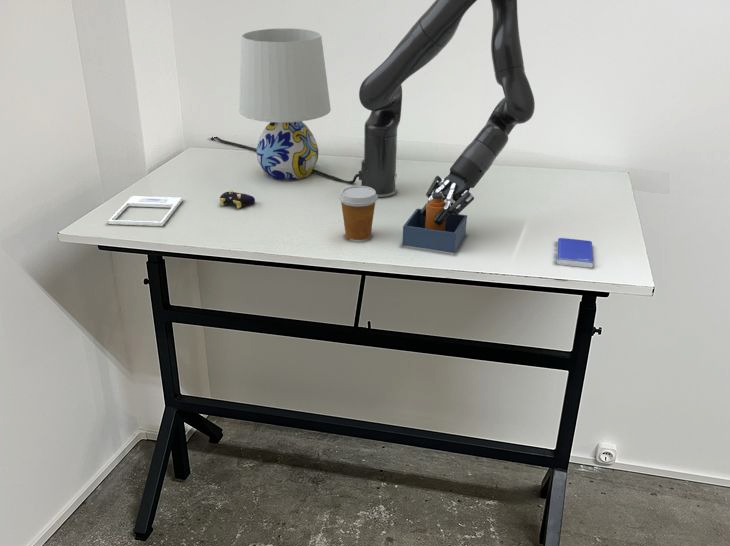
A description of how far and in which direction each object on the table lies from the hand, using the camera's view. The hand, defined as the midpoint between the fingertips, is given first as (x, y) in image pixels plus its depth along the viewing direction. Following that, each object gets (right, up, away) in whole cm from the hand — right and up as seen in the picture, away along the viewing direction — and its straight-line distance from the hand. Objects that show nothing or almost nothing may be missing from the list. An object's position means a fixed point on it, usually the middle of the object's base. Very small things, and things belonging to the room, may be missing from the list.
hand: (429, 219), depth 175 cm
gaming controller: (-52, +9, +25) cm, 59 cm away
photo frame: (-76, +6, +20) cm, 78 cm away
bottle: (+2, -4, +4) cm, 6 cm away
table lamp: (-39, +23, +47) cm, 66 cm away
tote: (+2, -5, +4) cm, 7 cm away
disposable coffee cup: (-18, -3, +7) cm, 19 cm away
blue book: (+35, -9, -3) cm, 36 cm away
